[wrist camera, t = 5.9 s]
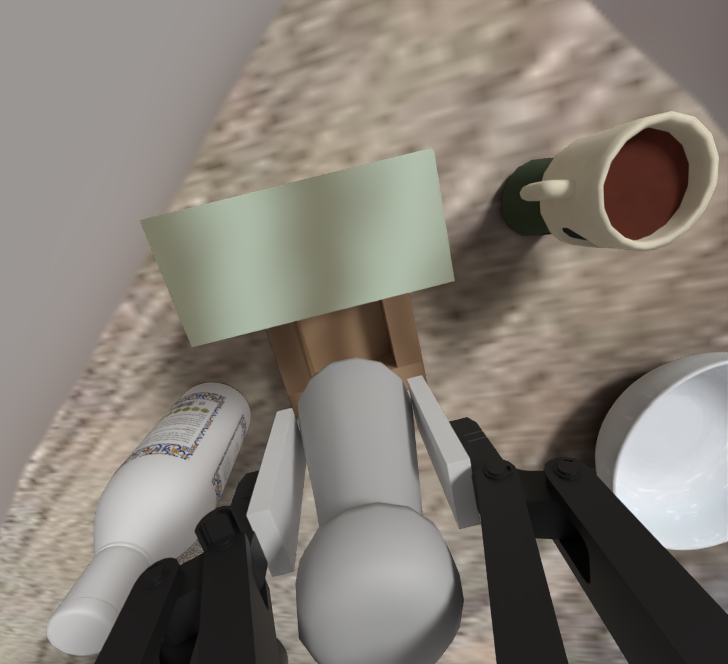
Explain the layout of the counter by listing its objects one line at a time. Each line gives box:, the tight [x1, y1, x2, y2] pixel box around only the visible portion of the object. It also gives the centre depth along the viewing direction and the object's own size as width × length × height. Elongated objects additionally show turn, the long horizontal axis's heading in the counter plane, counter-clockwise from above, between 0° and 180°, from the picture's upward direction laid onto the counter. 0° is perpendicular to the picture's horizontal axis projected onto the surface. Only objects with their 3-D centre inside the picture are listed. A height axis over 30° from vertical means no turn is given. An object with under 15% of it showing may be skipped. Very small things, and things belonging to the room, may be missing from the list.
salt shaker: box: [296, 357, 464, 664], centre depth 14 cm, size 6×6×13 cm
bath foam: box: [46, 383, 251, 656], centre depth 26 cm, size 7×7×20 cm
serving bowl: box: [595, 352, 728, 550], centre depth 37 cm, size 21×21×7 cm
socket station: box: [140, 148, 455, 418], centre depth 25 cm, size 12×17×17 cm
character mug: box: [502, 111, 719, 251], centre depth 26 cm, size 11×7×13 cm, turn 91°
